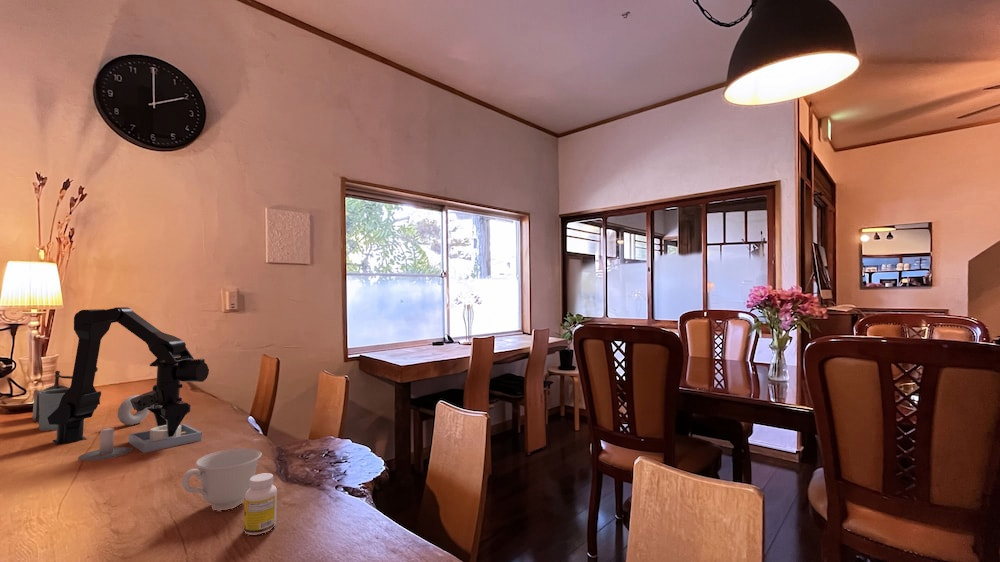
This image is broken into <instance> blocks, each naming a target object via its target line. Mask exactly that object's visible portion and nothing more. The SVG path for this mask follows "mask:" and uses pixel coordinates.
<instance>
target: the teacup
mask: <svg viewBox="0 0 1000 562" xmlns="http://www.w3.org/2000/svg"><path fill="white" fill-rule="evenodd" d="M262 456H263V453H262V452H261V451H260V450H259V449H256V448H251V447H250V448H249V447H241V448H240V447H238V448H229V449H223V450H218V451H215V452H212V453H211V452H210V453H208V454H206V455H203V456H202V457H200V458H198V459H197V460H196V461H195V464H194V465H195V466H196V467H197V468H191V469H189V470H187V471H186V472H185V473H184V475H183V477H182V479H181V486H182V487H183V489H184V491H186V492H188V493H193V494H194V493H198V494H201V495H202V498H203V499H204V501H205V502H206V503H208V504H211V507H212V509H216V510H220V509H228V508H232V507H235V506H238V505H239V504H241V503H242V502H243V503H244V499H245V494H246V492H247V491H248V490H249V489H250V487H249V482H250V478H251V477H252V476H255V475H256V471H257V465H258V461H259V459H260V458H261V457H262ZM193 475H195V478H196V479H198V480H200V486H201V487H200V488H199V487H193V486H191V485H190V484H189V480H190V478H191V476H193ZM212 509H211V510H212Z"/></svg>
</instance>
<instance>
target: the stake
mask: <svg viewBox="0 0 1000 562" xmlns="http://www.w3.org/2000/svg"><path fill="white" fill-rule="evenodd" d="M114 438H115V428H114V427H113V428H111V427H110V428H104V429H101V430H100V434H99V449H95V450H92V451H88V452H85V453H83V454H81V455H79V456H78V458H77V459H78V460H79V461H82V462H96V461H104V460H110V459H114V458H117V457H118V458H119V457H122V456H124V455H127V454H129V453H131V452H132V451H133V448H132V447H129V446H114Z"/></svg>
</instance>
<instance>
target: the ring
mask: <svg viewBox="0 0 1000 562" xmlns="http://www.w3.org/2000/svg"><path fill="white" fill-rule="evenodd" d="M149 430H150V441H149V442H152V441H157V440H162V439H167V438H172V437H177V436H182V435H186V433H187V432H185V431H184V432H181V424H180V425H179V426H178V428H177V430H176V432H175V433H174V435H173V436H172V437H168V432H167V424H166V425H163V426H157V425H156V426H155V427H152V428H150V429H149Z"/></svg>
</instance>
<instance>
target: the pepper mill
mask: <svg viewBox="0 0 1000 562" xmlns="http://www.w3.org/2000/svg"><path fill="white" fill-rule="evenodd" d="M98 371H99V368H98V367H97V366H96V372H95V374H96V373H97V372H98ZM60 372H61V371H60V370H55V372H54V373H55V374H54V377H55V382H54V384H53V385H52V386H48V387H46V388H45V389H42V390H35V391H34V394H33V395H34V396H33V405H32V407H33V408H32V415H31V416H32V420H33V419H34V420H33V421H35V422H34V423H36V422H37V423H39V417H40V415H39V411H40V410H39V409H40V408H39V392H41V391H45V390H51V389H61V388H70V386H67V385H66V386H65V385H61V384H59V383H60V382H59V379H60V378H61V379H70V380H72V376H73V375H71V376H70V375H60V374H61V373H60Z"/></svg>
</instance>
